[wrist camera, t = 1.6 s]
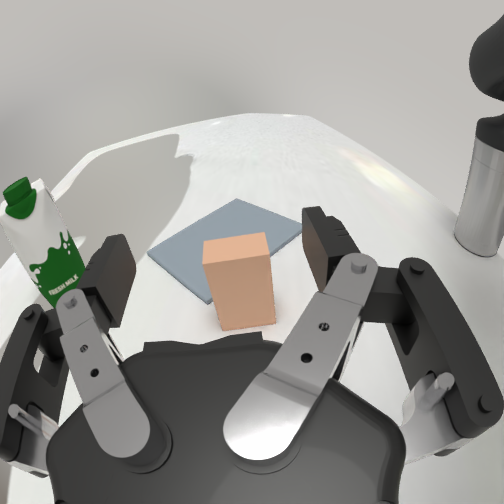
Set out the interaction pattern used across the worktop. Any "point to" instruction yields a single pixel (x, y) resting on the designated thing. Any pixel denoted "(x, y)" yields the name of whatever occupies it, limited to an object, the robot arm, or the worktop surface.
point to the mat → (216, 227)
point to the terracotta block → (240, 280)
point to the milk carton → (41, 238)
